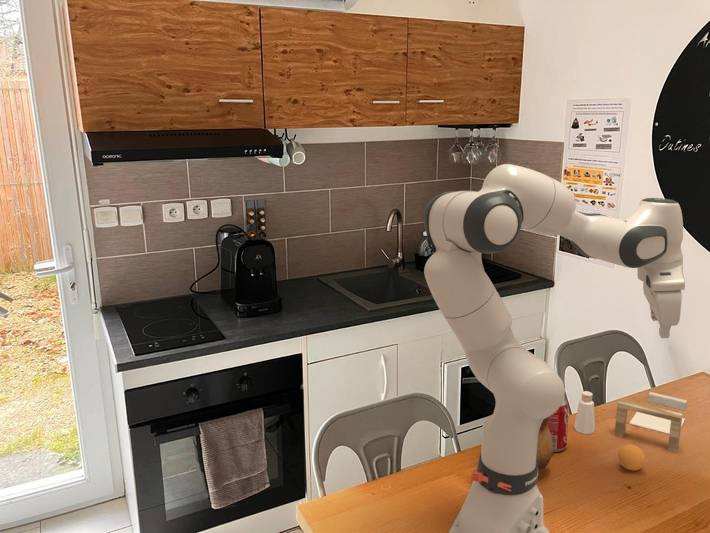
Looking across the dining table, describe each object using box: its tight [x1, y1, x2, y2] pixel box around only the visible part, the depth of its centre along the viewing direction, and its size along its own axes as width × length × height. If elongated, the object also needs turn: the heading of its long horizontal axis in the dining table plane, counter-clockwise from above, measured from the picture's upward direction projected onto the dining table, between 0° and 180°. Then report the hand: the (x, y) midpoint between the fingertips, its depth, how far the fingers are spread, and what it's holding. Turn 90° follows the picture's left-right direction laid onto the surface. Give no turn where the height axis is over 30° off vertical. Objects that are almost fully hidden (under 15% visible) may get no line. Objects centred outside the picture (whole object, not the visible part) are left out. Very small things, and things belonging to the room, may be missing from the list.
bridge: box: [614, 398, 683, 454], centre depth 154 cm, size 3×15×10 cm, turn 52°
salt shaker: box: [573, 390, 596, 435], centre depth 161 cm, size 5×5×11 cm
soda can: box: [548, 398, 570, 453], centre depth 152 cm, size 7×7×13 cm
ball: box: [617, 444, 646, 471], centre depth 142 cm, size 6×6×6 cm
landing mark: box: [629, 411, 686, 435], centre depth 166 cm, size 12×12×1 cm
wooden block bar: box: [647, 391, 688, 411], centre depth 176 cm, size 2×10×2 cm, turn 52°
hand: (659, 327), depth 132 cm, fingers open, 8 cm apart
